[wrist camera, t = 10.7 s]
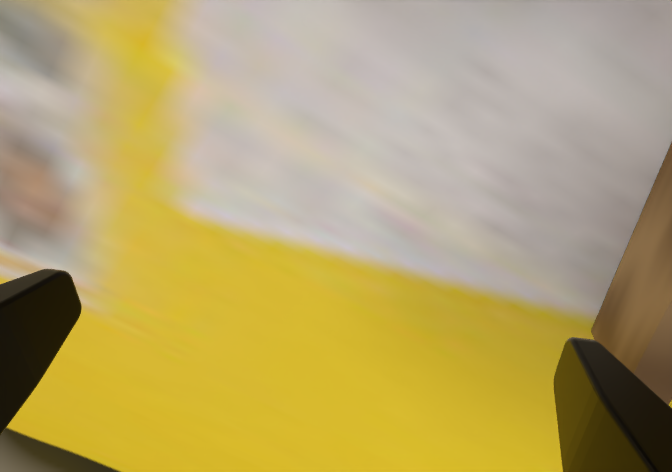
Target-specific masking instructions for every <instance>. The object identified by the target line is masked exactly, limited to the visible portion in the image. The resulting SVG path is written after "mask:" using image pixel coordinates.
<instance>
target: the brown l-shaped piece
mask: <svg viewBox="0 0 672 472" xmlns="http://www.w3.org/2000/svg"><path fill="white" fill-rule="evenodd" d="M591 332H592V335H593V337H594V340H595V341H597V342H599V343H600V344H602V345H603V346H604V347H605V348H606V349H607V350H608V351H609V352H610V353H612V354H613V355H614V356H615V357H616V358H617V359H618V360H619V361H620V362H621V363H623V364H624V365H625V366H626V367H627V368H628V369H629V370H630V371H631V372H632V373H634V374H635V375H636V376H637V377H638V378H639V379H640V380H641V381H642V382H643V383H645V384H646V385H647V386H648V387H649V388H650V389H651V390H652V391H653V392H654V393H656V394H657V395H658V396H659V397H660V398H661V399H662V400H663V401H664V402H665V403H667V404H668V405H669V403H670V401H671V400H672V143H671V145H670V148H669V150H668V152H667V155H666V157H665V159H664V162H663V164H662V166H661V169H660V171H659V173H658V176H657V178H656V180H655V183H654V185H653V187H652V190H651V192H650V194H649V197H648V199H647V201H646V204H645V206H644V208H643V211H642V213H641V215H640V218H639V220H638V222H637V225H636V227H635V229H634V232H633V234H632V236H631V239H630V241H629V243H628V246H627V248H626V250H625V253H624V255H623V257H622V260H621V262H620V264H619V267H618V269H617V271H616V274H615V276H614V278H613V281H612V283H611V285H610V288H609V290H608V292H607V295H606V297H605V299H604V302H603V304H602V306H601V309H600V311H599V313H598V316H597V318H596V320H595V323H594V325H593V327H592V330H591Z"/></svg>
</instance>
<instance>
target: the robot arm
mask: <svg viewBox="0 0 672 472" xmlns="http://www.w3.org/2000/svg"><path fill="white" fill-rule="evenodd" d="M80 314H81V302H80V299H79V296H78V294H77V291H76V288H75V285H74V282H73V279H72V277H71V275H70V274H69V273H68V272H66V271H62V270H55V269H43V270H40V271H37V272H34V273H32V274H29V275H26V276H23V277H20V278H17V279H14V280H12V281H9V282H6V283H3V284H0V435H1V433H2V432H3V431H4V429H5V428H6V427H7V425H8V424H9V423H10V421H11V420H12V419H13V417H14V416H15V415H16V413H17V412H18V411H19V409H20V408H21V407H22V405H23V404H24V403H25V401H26V400H27V399H28V397H29V396H30V395H31V393H32V392H33V390H34V389H35V388H36V386H37V385H38V383H39V382H40V380H41V379H42V377H43V375H44V374H45V372H46V371H47V369H48V367H49V366H50V364H51V362H52V361H53V359H54V358H55V356H56V354H57V353H58V351H59V349H60V348H61V346H62V345H63V343H64V341H65V340H66V338H67V336H68V335H69V333H70V331H71V330H72V328H73V327H74V325H75V323H76V322H77V320H78V318H79V316H80ZM554 394H555V403H556V412H557V421H558V430H559V440H560V449H561V458H562V467H563V472H672V408H671V407H670V406H669V405H668V404H667V403H665V402H664V401H663V400H662V399H661V398H660V397H659V396H658V395H657V394H656V393H654V392H653V391H652V390H651V389H650V388H649V387H648V386H647V385H646V384H645V383H643V382H642V381H641V380H640V379H639V378H638V377H637V376H636V375H635V374H634V373H632V372H631V371H630V370H629V369H628V368H627V367H626V366H625V365H624V364H623V363H621V362H620V361H619V360H618V359H617V358H616V357H615V356H614V355H613V354H612V353H610V352H609V351H608V350H607V349H606V348H605V347H604V346H603V345H602V344H600V343H599V342H597V341H595V340H590V339H582V338H574V337H572V338H569V339H568V340H567V341H566V343H565V345H564V348H563V351H562V354H561V357H560V360H559V363H558V366H557V369H556V372H555V376H554Z"/></svg>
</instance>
